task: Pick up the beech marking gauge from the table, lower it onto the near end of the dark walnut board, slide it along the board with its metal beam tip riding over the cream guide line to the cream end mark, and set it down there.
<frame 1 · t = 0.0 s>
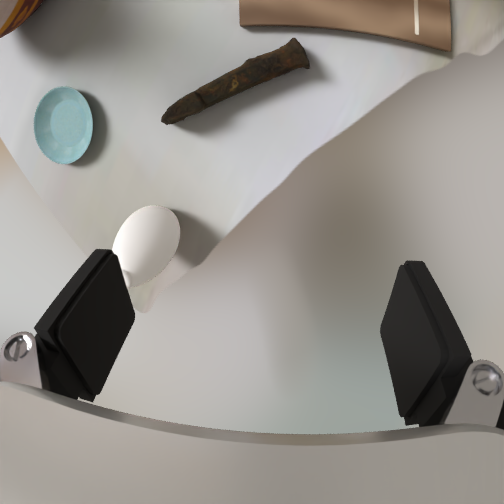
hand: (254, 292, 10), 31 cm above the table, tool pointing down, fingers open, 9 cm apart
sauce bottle: (164, 217, 45), on the table
saucer: (70, 122, 38), on the table
hand tool: (234, 87, 34), on the table
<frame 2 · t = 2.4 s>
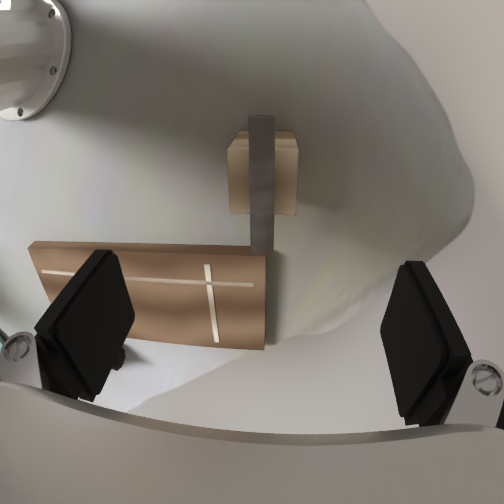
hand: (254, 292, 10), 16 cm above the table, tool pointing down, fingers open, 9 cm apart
board: (141, 292, 31), on the table
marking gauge: (266, 156, 23), on the table
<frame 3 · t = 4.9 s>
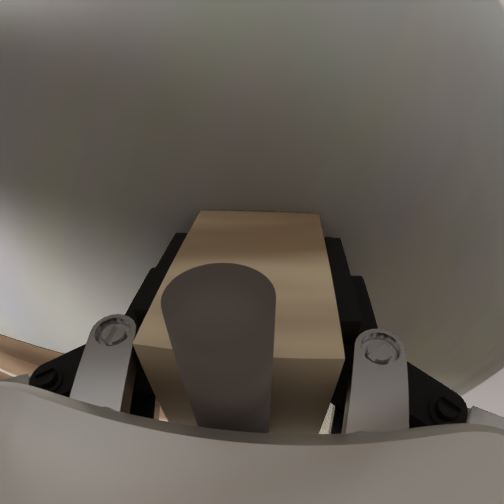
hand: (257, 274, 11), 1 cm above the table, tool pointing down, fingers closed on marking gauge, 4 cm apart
board: (91, 401, 20), on the table
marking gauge: (259, 261, 12), on the table, touching gripper
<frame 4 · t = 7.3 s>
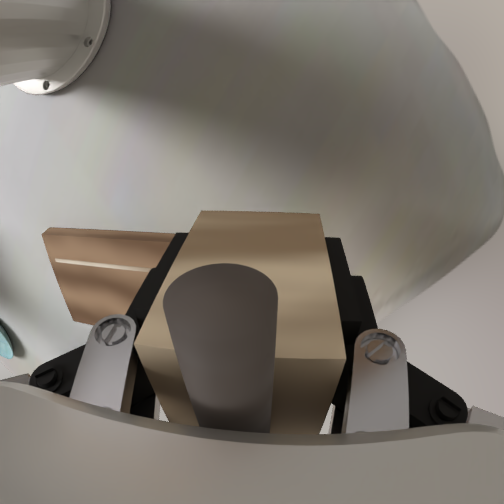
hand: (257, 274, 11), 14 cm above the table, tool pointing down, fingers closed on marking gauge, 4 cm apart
board: (165, 286, 30), on the table
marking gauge: (259, 261, 12), point 13 cm above the table, touching gripper
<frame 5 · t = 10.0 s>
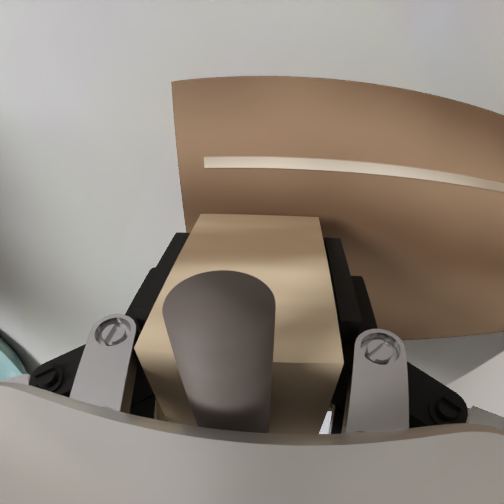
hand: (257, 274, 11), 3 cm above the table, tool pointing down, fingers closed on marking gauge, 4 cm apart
board: (466, 230, 13), on the table
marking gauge: (259, 264, 12), point 3 cm above the table, touching gripper
saucer: (1, 347, 25), on the table
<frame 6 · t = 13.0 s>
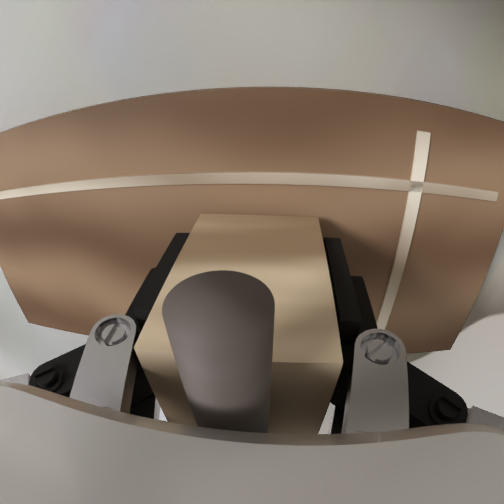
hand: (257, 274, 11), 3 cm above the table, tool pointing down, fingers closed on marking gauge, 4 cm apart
board: (205, 232, 13), on the table
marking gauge: (258, 264, 12), point 2 cm above the table, touching gripper
when the fingers open (3 cm above the table, at t = 15.5 s): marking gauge stays where it is, resting on board.
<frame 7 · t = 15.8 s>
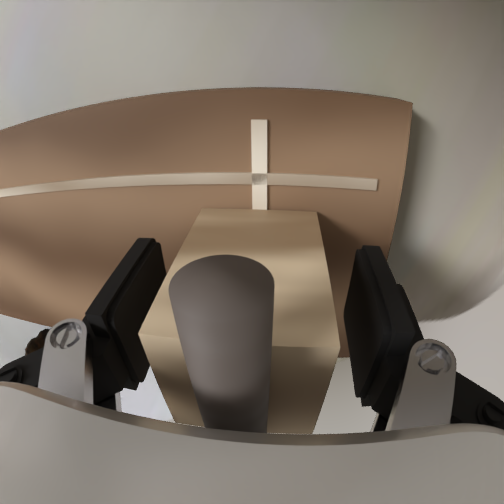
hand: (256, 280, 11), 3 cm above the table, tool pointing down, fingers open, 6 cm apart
board: (96, 231, 14), on the table
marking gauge: (258, 258, 12), point 2 cm above the table, touching board
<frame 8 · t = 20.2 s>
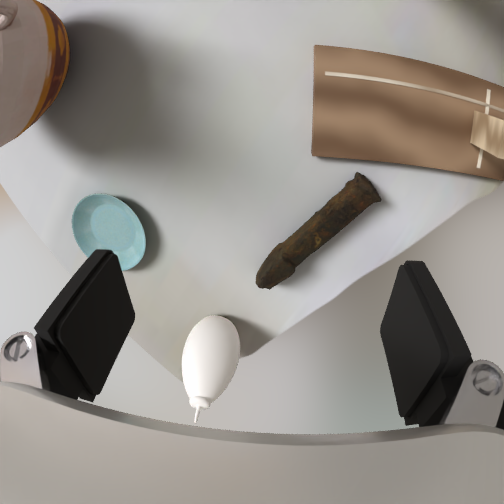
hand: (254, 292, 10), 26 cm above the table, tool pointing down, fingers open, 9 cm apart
board: (424, 113, 29), on the table
jug: (52, 58, 28), on the table
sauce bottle: (219, 320, 48), on the table
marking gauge: (484, 129, 27), point 2 cm above the table, touching board
saucer: (114, 226, 41), on the table
hand tool: (312, 230, 38), on the table
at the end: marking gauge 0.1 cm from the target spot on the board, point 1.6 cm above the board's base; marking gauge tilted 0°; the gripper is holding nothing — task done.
